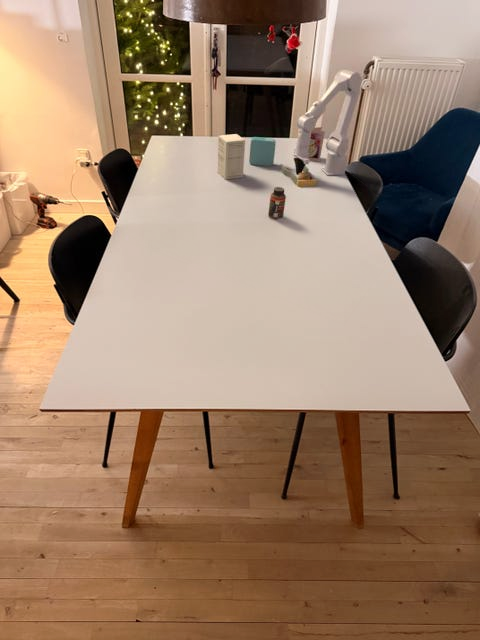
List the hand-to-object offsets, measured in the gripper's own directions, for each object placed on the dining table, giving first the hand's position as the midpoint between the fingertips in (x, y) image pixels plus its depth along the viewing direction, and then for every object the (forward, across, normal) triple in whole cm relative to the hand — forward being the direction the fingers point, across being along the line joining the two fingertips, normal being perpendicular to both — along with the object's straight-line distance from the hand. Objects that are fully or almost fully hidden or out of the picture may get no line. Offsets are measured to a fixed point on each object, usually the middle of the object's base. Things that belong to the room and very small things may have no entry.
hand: (298, 174), depth 206 cm
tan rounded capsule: (+1, +7, 0) cm, 8 cm away
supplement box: (+2, -5, -32) cm, 32 cm away
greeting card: (+2, -24, +15) cm, 28 cm away
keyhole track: (+1, +1, 0) cm, 1 cm away
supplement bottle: (+2, +39, -24) cm, 46 cm away
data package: (+2, -18, -13) cm, 22 cm away
